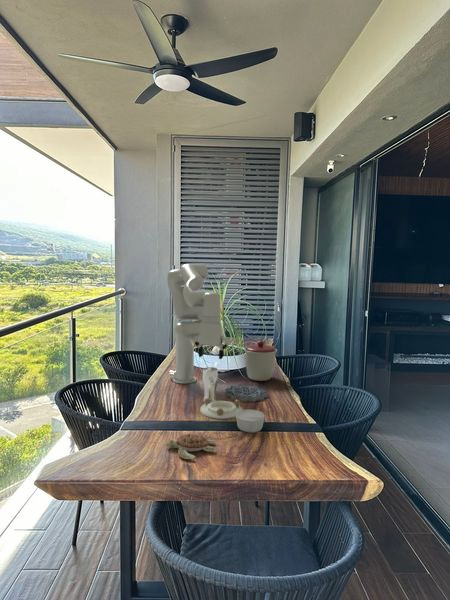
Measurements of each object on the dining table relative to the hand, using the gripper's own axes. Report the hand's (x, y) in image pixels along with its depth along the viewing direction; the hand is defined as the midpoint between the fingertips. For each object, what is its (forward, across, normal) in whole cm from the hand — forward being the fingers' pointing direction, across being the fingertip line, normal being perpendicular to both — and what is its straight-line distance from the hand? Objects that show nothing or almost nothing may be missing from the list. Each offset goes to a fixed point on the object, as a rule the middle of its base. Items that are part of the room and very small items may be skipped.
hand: (210, 357), depth 178 cm
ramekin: (+21, +25, -21) cm, 39 cm away
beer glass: (+20, 0, 0) cm, 21 cm away
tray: (+20, +9, -9) cm, 24 cm away
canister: (+20, +12, +44) cm, 50 cm away
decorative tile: (+21, +13, +15) cm, 29 cm away
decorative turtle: (+21, +11, -45) cm, 51 cm away
